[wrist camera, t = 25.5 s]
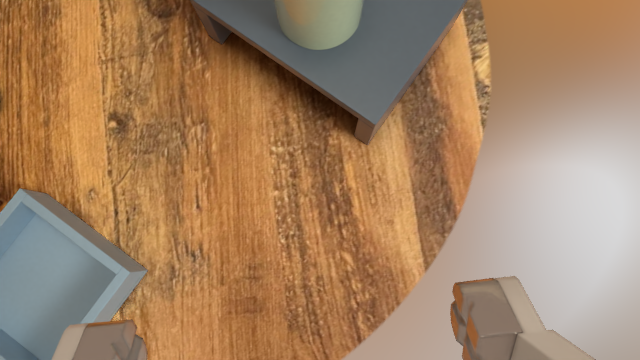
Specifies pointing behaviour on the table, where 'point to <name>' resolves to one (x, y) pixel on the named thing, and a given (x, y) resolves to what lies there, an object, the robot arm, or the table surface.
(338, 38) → the cup
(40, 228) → the open bin
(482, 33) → the table surface
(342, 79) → the shelf
